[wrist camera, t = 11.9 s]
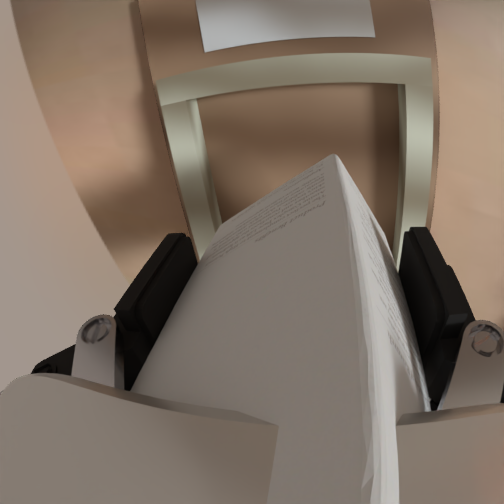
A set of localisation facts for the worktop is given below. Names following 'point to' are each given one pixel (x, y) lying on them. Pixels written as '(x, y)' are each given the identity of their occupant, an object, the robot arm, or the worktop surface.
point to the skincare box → (301, 339)
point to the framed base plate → (296, 102)
